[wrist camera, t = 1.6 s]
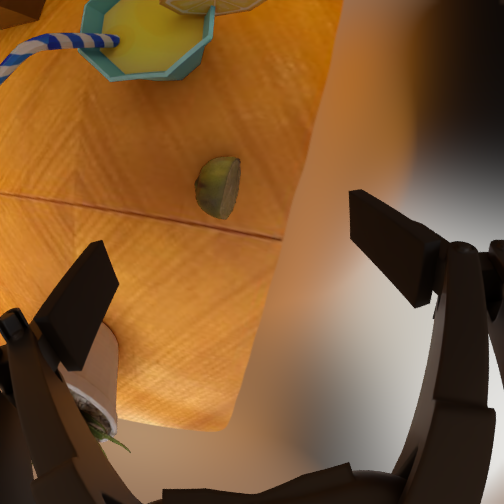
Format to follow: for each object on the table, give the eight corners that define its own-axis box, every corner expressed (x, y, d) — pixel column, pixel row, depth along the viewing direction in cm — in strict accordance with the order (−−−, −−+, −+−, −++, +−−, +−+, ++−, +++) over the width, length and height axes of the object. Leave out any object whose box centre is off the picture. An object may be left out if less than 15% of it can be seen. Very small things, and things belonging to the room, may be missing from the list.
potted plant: (109, 387, 35) (86, 511, 18) (32, 329, 30) (-27, 450, 12) (161, 349, 33) (146, 509, 15) (69, 275, 27) (-17, 430, 9)
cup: (104, 131, 22) (-6, 163, 8) (78, 59, 18) (-35, 34, 5) (256, 68, 21) (311, 12, 8) (226, -5, 18) (243, -109, 4)
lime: (232, 146, 24) (237, 153, 19) (256, 194, 26) (265, 212, 22) (185, 169, 24) (179, 182, 20) (211, 216, 26) (210, 238, 22)
